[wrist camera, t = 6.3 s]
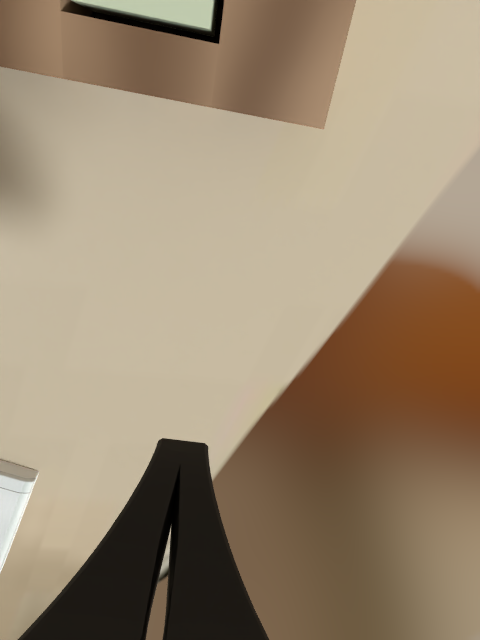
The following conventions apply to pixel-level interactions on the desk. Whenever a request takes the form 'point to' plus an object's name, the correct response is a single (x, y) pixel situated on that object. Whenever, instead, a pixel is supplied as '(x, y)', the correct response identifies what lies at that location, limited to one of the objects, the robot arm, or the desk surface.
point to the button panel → (192, 54)
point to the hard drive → (13, 501)
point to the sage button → (162, 12)
